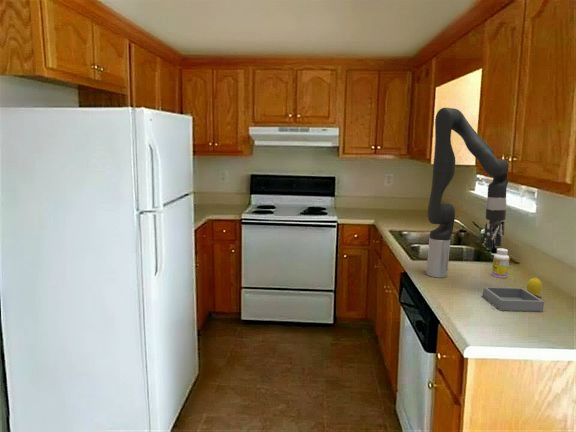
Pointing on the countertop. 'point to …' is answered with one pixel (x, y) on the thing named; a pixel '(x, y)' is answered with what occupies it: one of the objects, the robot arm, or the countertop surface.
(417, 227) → the countertop surface
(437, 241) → the robot arm
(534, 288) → the lemon
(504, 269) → the supplement bottle
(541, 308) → the box
